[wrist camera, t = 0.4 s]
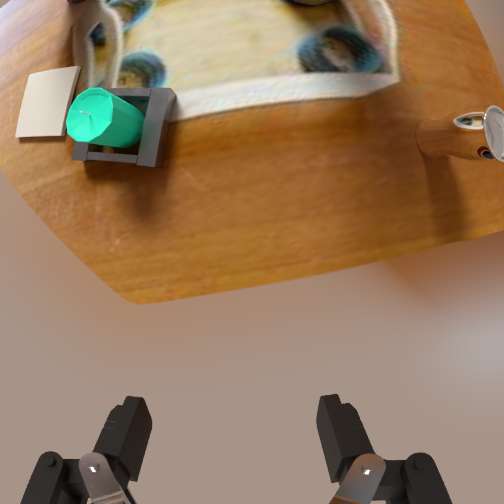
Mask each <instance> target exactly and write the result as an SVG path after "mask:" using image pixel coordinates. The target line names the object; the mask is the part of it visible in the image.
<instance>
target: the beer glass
mask: <svg viewBox="0 0 504 504" xmlns="http://www.w3.org/2000/svg"><path fill="white" fill-rule="evenodd" d="M416 141H417V144H418V146H419V148H420V150H421V151H422V152H423V154H425V155H426V156H428V157H430V158H438V157H441V156H444V155H449V156H453V157H457V158H460V159H464V160H468V161H473V162H504V112H503V110H502V109H501V108H499V107H498V106H495V105H491V106H475V107H468V108H464V109H461V110H458V111H456V112H454V113H452V114H450V115H448V116H446V117H444V118H442V119H439V120H431V119H425V120H423V121H421V122H420V123H419V124H418V126H417V129H416Z"/></svg>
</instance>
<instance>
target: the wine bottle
mask: <svg viewBox="0 0 504 504" xmlns="http://www.w3.org/2000/svg"><path fill="white" fill-rule="evenodd" d="M67 1H68V2H70V3H79V2H82V1H84V0H67Z"/></svg>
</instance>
